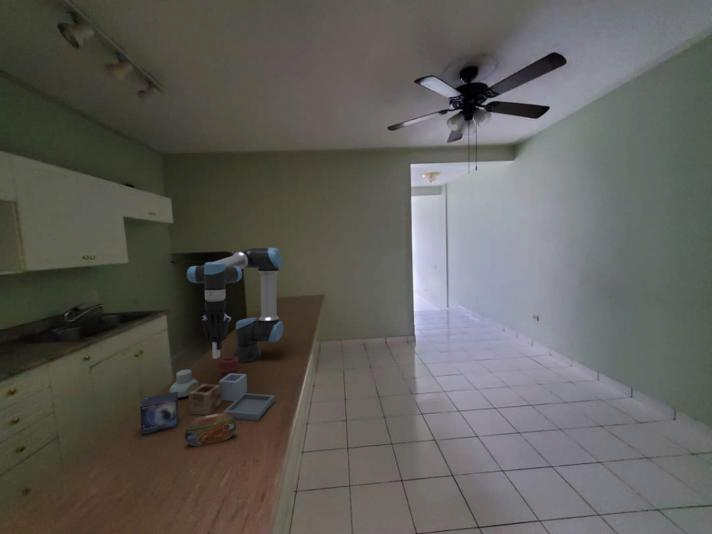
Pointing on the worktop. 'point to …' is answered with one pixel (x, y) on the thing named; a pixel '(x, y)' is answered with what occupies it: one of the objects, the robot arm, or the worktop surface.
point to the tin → (210, 429)
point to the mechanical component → (228, 365)
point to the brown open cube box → (204, 399)
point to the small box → (159, 413)
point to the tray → (250, 406)
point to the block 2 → (233, 386)
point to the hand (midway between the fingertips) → (216, 357)
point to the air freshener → (184, 383)
